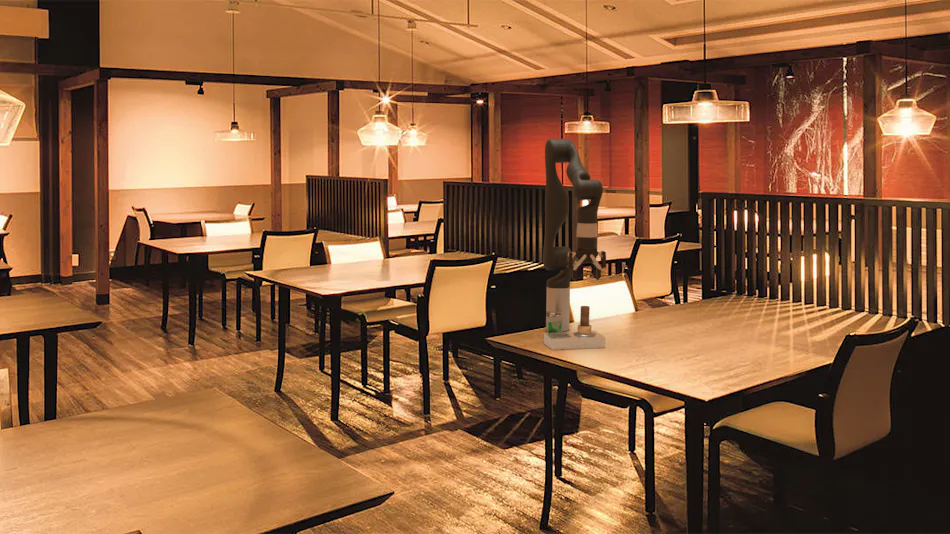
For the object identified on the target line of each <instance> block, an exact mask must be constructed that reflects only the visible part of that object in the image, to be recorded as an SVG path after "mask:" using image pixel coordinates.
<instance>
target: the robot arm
mask: <svg viewBox="0 0 950 534" xmlns="http://www.w3.org/2000/svg"><path fill="white" fill-rule="evenodd" d="M544 145H545V146H544V163H545V164H544V165H545V167H544V168H545V198H544V215H545V216H544V227H545V228H544V238H543V239H544V242H543V251H542V263H543V264H542V265H543V267H544V269H545V270H547V271H560V272H559V273H558V274H556V275H555V276H553V277H550V278H548V279H547V280H546V302H545V303H546V307H545V308H546V309H545V310H546V314H547V311H555V312H560V313H562V315H563V317H564V320H563V321H562V327H561V332H569V331H570V315H571V314H570V309H571V307H570V305H571V304H570V302H571V299H570V298H571V296H570V295H571V292H570V291H571V279H572V280H573V281H574V282H575V281H577V280H578V272H577V271H578V270H577V269H578V268H579V266H581V264H583V265H584V264H585V265H586V264H593V266H594V267H595V280H596V281H598V280H600V279H601V277H602V269H604V268H607V252H606V251H604V250H601V251H598V235H599V231H598V230H599V228H598V210H599V206H600V203H601V199H602V195H603V193H604V192H603V191H604V187H603V183H602V182H601V181H600V180H598V179H591V176H590V173H589V172H588V171H587V169H586V168H585V166H584V165H583V164H582V161H581V159H580V154H579V153H578V149H577V147H576V145H575V143H574V142H573V140H571V139H570V138H549V139H547V140H546V142H545V144H544ZM556 163H557V164H559V163H560V164H565V163H566V164H567V163H568V164H567V167H566V171H565V172H566V177H567V179H568V180H569V181H570V184H571V185H572V190H573V191H572V192H573V195H574V197H575V198H576V199H577V200H582V201H585V200H589V203H588V204H587V205H586V204H585V205H582V206H579V207H578V208H577V223H576V224H577V225H576V246H575V249H576V250H575V251H572V250H571V248H570V247H569V246H555V245H554V244H555V239H556V237H557V234H558V232H559V231H560V229H561V227H562V226H563V225H564V222H565V221H566V219H567V218H568V215H569V213H570V212H569V209H570V202H569V201H570V198H569V194H568V191H567V190H566V188H565V187H564V184H563V183H562V181H561V180H560V178H559V175H558V172H557V167H556V166H557V165H556ZM598 256H599V258H600V263H599V261H598V260H597V258H598ZM574 257H576V259H575V260H574V262H573V258H574ZM546 326H547V316H546V315H545V327H546Z"/></svg>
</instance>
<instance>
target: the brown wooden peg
mask: <svg viewBox="0 0 950 534" xmlns="http://www.w3.org/2000/svg"><path fill="white" fill-rule="evenodd" d="M590 310H591V309H590V306H588V305H581V306H580V317H579V318H580V321H579V322H580V323H579V324H578V325H577V332H578V334H580V335H590V334H591V331H592V325H591V324H590Z"/></svg>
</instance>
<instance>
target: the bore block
mask: <svg viewBox="0 0 950 534" xmlns="http://www.w3.org/2000/svg"><path fill="white" fill-rule="evenodd" d="M543 344H544V345H545V346H547V347H548V349H550V350H551V351H557V350H561V349H564V350H583V349H584V350H585V349H586V350H587V349H605V348H606V336H605V335H603V334H601V333H600V332H598V331H597V330H591V334H590V335H580V334H578V331H562V332H552V333H546V332H543ZM561 351H562V350H561Z"/></svg>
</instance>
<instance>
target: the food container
mask: <svg viewBox="0 0 950 534" xmlns="http://www.w3.org/2000/svg"><path fill="white" fill-rule="evenodd" d="M546 316H547V326H546V325H545V330H546V331H545V333H552V332H561V327H562V321H563V320H564V317H563V315H562V313H560V312H555V311H547V314H546V315H545V317H546Z"/></svg>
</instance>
